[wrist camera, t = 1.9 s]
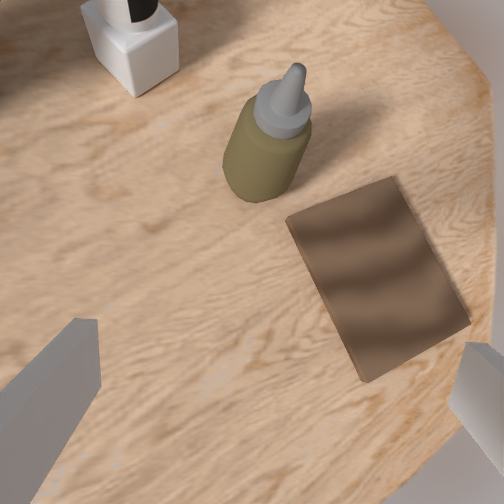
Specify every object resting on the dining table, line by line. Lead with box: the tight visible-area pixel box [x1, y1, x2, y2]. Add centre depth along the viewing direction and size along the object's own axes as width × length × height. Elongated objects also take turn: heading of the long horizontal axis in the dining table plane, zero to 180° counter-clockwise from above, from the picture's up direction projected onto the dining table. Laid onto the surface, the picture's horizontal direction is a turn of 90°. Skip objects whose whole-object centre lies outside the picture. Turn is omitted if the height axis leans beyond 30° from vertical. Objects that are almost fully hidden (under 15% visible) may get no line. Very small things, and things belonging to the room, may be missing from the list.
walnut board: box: [285, 176, 471, 383], centre depth 41 cm, size 20×15×2 cm
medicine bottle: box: [80, 0, 179, 98], centre depth 37 cm, size 7×7×12 cm
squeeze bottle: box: [222, 63, 312, 203], centre depth 33 cm, size 8×8×18 cm
